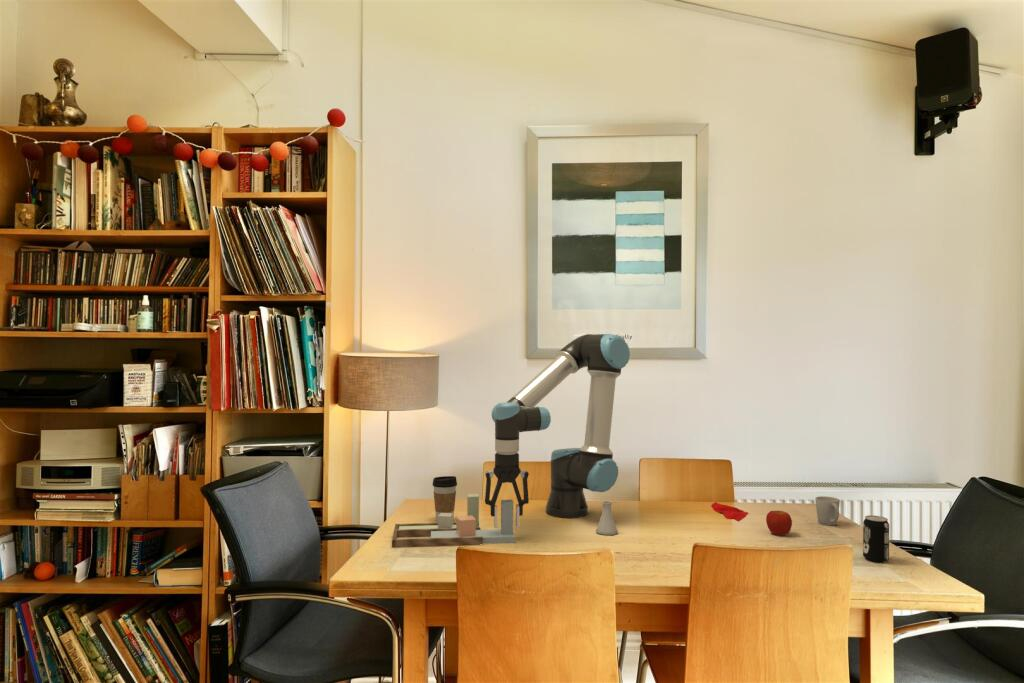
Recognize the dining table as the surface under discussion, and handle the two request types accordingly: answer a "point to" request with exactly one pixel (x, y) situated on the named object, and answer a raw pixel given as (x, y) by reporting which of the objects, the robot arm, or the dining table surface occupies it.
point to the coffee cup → (444, 494)
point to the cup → (827, 510)
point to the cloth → (729, 511)
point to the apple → (779, 522)
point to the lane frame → (427, 533)
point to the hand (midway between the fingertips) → (506, 526)
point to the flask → (606, 521)
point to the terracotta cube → (465, 526)
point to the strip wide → (494, 534)
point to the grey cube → (445, 520)
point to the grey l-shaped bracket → (471, 510)
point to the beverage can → (876, 539)
